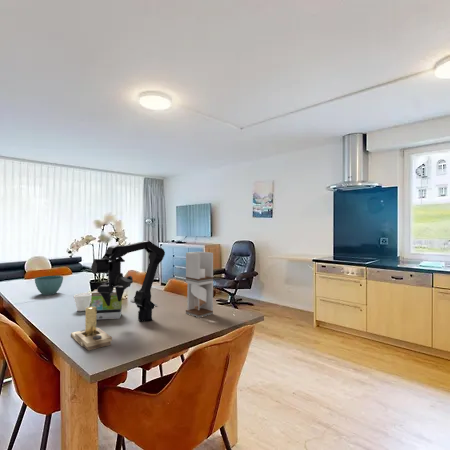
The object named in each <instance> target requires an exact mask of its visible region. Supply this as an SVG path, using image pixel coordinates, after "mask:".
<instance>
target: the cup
mask: <svg viewBox="0 0 450 450" xmlns="http://www.w3.org/2000/svg"><path fill="white" fill-rule="evenodd" d="M91 295H92V293H91V292H82V293H81V292H80V293H76V294H74V295H73V299H74V302H75V307H76V311H77V312H86V308H87V307H91Z"/></svg>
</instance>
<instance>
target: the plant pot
mask: <svg viewBox="0 0 450 450" xmlns="http://www.w3.org/2000/svg"><path fill="white" fill-rule="evenodd" d="M63 280H64V276H63V275H47V276H46V275H45V276H40V277H39V276H38V277H35V278H34V283H35V284H34V285H35V287H36V289H37V290H38V292H39V293H40V294H41V295H43V296H52V295H55V294H57V292H58V291H60V288H61V287H62V284H63Z"/></svg>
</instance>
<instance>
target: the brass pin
mask: <svg viewBox="0 0 450 450" xmlns="http://www.w3.org/2000/svg"><path fill="white" fill-rule="evenodd" d="M84 320H85V324H84V326H85V327H84V328H85V329H84V330H85V337H87V336H92V335H96V328H97V307H91V306H89V307H87V308H86V311H85V319H84Z"/></svg>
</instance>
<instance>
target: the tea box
mask: <svg viewBox="0 0 450 450" xmlns="http://www.w3.org/2000/svg"><path fill="white" fill-rule="evenodd" d="M112 292H113V293H112V294H111V301H110V306H107V304H106V302H105V300H104V298H103V297H102V295H101V294H100V293H99V292H97V289H94V290H93V291H92V293H91V294H92V295H91V302H90V307H97V320H98V321H99V320H113V319H114V320H115V319H116V320H117V319H118V320H119V319H121V315H122V309H123V308H122V306H123V304H122V302H123V301H122V300H123V298H122V299H121V301H118V298H117V294H116V289H115V288H113V291H112ZM97 320H96V321H97Z"/></svg>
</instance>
